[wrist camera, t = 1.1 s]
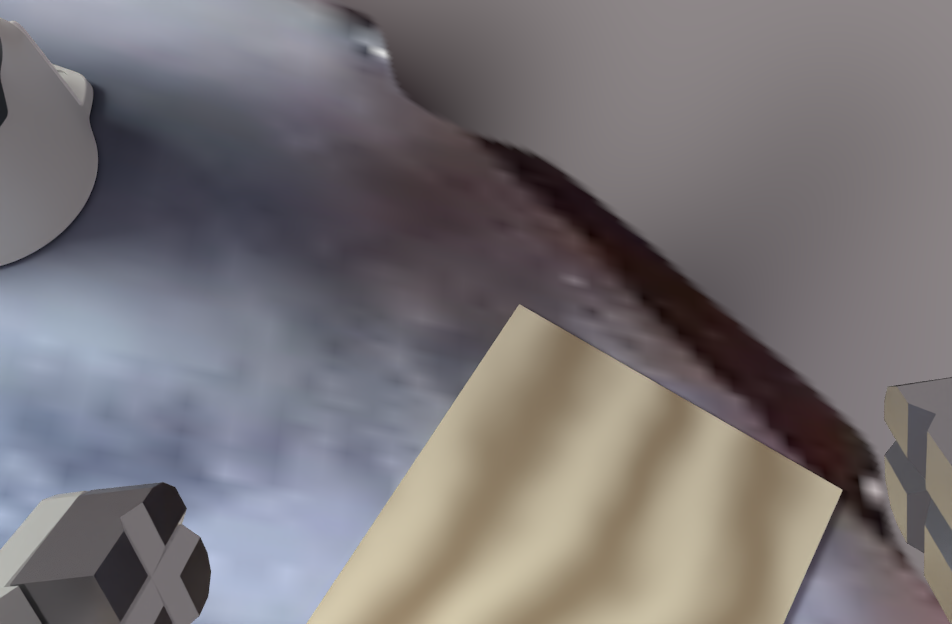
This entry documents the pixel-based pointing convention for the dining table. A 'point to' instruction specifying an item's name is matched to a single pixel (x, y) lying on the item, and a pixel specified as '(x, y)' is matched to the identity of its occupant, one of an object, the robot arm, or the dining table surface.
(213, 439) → the dining table surface
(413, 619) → the board
